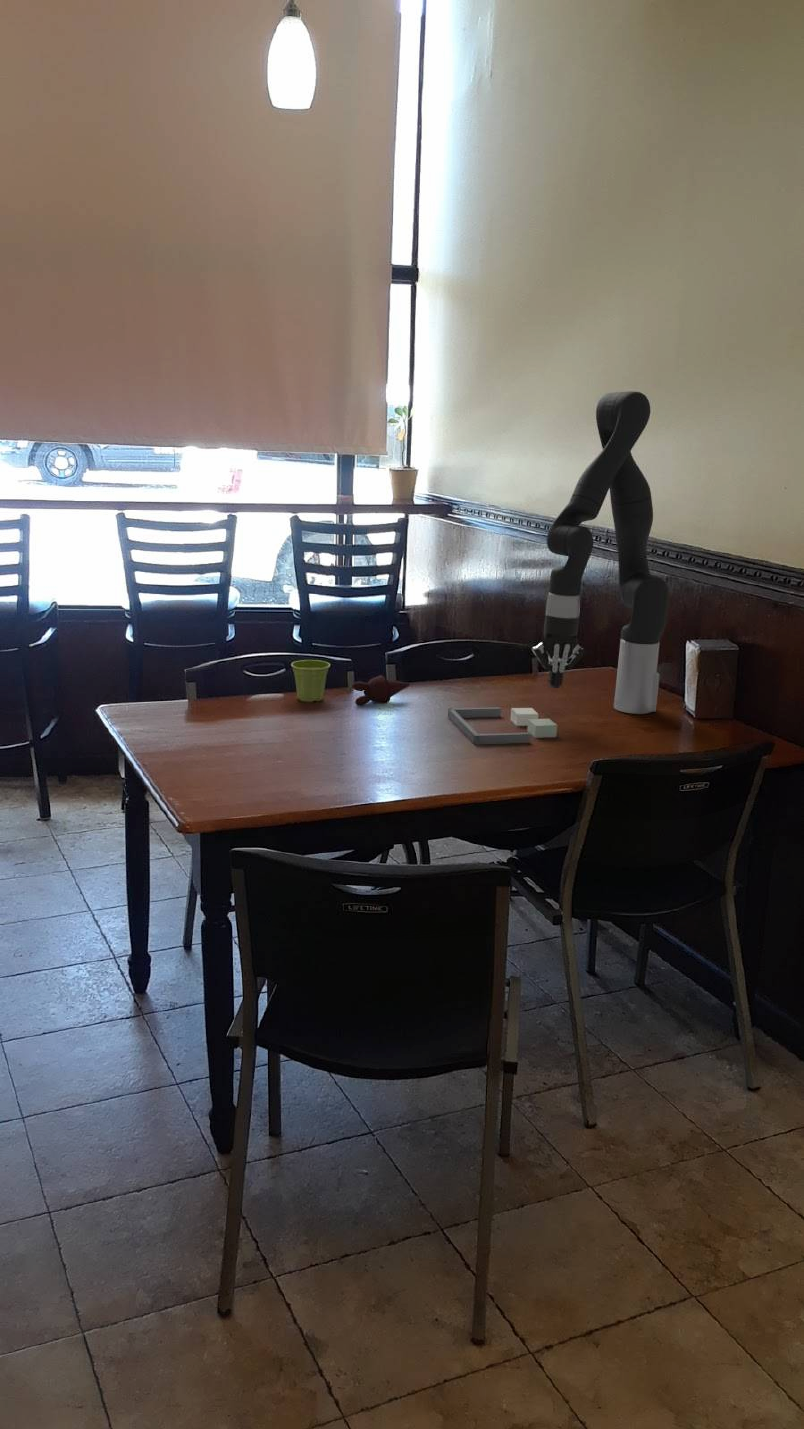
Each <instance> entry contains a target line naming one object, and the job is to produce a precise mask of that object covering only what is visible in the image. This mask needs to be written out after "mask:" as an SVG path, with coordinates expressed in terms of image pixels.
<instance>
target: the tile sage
mask: <svg viewBox="0 0 804 1429" xmlns="http://www.w3.org/2000/svg"><path fill="white" fill-rule="evenodd" d="M557 730H558V724H557V723H556V722H554V721H552V720H551V719H550V718H538V719H528V726H527V730H526V731H527V733H530V736H532V737H533V738H535V739H536V738H537V739H538V738H540V739H541V738H557V732H558V731H557Z"/></svg>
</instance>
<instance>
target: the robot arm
mask: <svg viewBox="0 0 804 1429" xmlns="http://www.w3.org/2000/svg"><path fill="white" fill-rule="evenodd" d="M649 400H650V399H649V398H648V397H647V396H646V394H644V393H642V392H640V391H618V392H617V391H616V392H615V391H614V392H607V393H605V394H603V395H602V396H601V397H600V399H599V400H598V402H597V405H596V410H595V419H596V420H595V421H596V426H597V431H598V436H599V440H600V443H601V447H602V450H601V451H600V453H598V455H597V456H596V457H595V458H594V459H593V460H592V462H591V463H590V464H589V465H587V467H586V468H585V470H584V471H583V472H582V474H581V476H580V477H579V479H578V481H577V482H576V486H575V488H574V491H573V493H572V495H571V497H570V500H569V502H568V503H567V504H566V505H565V507H564V508H563V509H562V511H561V512H560V513H559V514H558V515H557V517H556V519H555V520H554V521H553V523H552V524H551V525H550V527H549V529H548V532H547V535H546V545H547V548H548V550H549V552H551V553H552V554H554V555H559V556H564V557H567V560H566V562H565V564H564V565H560V566H559V565H558V566H555V567H553V568H552V570H551V572H550V577H549V585H548V586H549V588H548V596H547V600H546V604H545V605H546V607H545V614H544V616H545V617H544V626H543V636H542V638H541V639H540V643H538V644H537V645H536V646H532V647H531V649H530V650H531V652H532V653H533V654H534V656H535V657H536V659H537V661H538V662H539V663H540V665H541V667H542V668H544V669H545V670H546V671H549V673H548V685H550V687H551V688H553V689H560V687H562V684H563V677H564V672H565V671H566V672H567V671H571V670H572V669H573V668H574V666H575V665H577V663H578V662H579V661H580V660H581V658H583V656H584V655H585V654H586V652H587V651H586V648H583V647H582V646H580V645H579V641H578V639H577V635H578V628H579V619H580V613H581V610H580V608H581V590H582V589H581V588H582V579H583V576H584V573H585V570H586V568H587V565H588V563H589V559H590V557H591V555H592V552H593V550H594V549H593V548H594V536H593V533H592V531H591V530H590V529H589V528H588V527H586V526H582V525H581V524H582V523H584V522H587V521H588V522H589V521H592V520H593V521H594V520H595V519H596V518H597V517H598V515H599V513H600V511H601V508H602V506H603V505H604V502H605V500H606V497H607V494H608V492H609V497H610V505H611V506H610V508H611V513H612V519H613V525H614V534H615V543H616V548H617V557H618V558H617V559H618V589H619V595H620V599H621V601H622V603H623V604H624V605H625V606H626V607H627V608H629V609H631V610H632V611H631V615H630V616H631V617H630V621H629V623H628V624H626V625H624V626H622V628H621V631H620V643H619V653H618V662H617V672H616V673H617V674H616V682H615V692H614V698H613V699H614V701H613V708H614V709H615V710H616V711H619V712H621V713H627V714H631V715H632V714H634V715H645V714H649V713H653V712H657V711H656V710H657V702H658V695H659V694H658V692H659V684H660V673H659V672H657V671H658V669H657V668H658V662H659V661H658V660H659V653H660V652H659V651H660V643H661V642H660V641H661V636H662V634H663V632H664V630H665V627H666V622H667V615H668V610H669V603H670V590H669V586H668V584H667V582H666V580H664V579H663V578H662V577H660V576H658V575H654V574H651V571H650V567H649V562H648V555H647V554H648V553H647V546H648V541H649V537H650V534H651V530H652V527H653V522H654V506H653V499H652V492H651V487H650V485H649V482H648V481H647V478H646V477H645V475H644V474H643V472H642V470H641V468H640V467H639V466H638V464H637V462H636V461H635V459H634V457H633V454H632V452H631V451H632V450H633V448H634V446H635V445H636V443H637V442H638V440H639V438H640V437H641V435H642V434H643V432H644V431H645V429H646V427H647V425H648V422H649V420H650V416H651V404H650V401H649ZM544 652H545V653H546V654H547V655H548V656H547V657H548V661H547V659H546V658H545V655H543V654H544ZM571 653H572V654H571ZM568 656H569V657H568Z"/></svg>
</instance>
